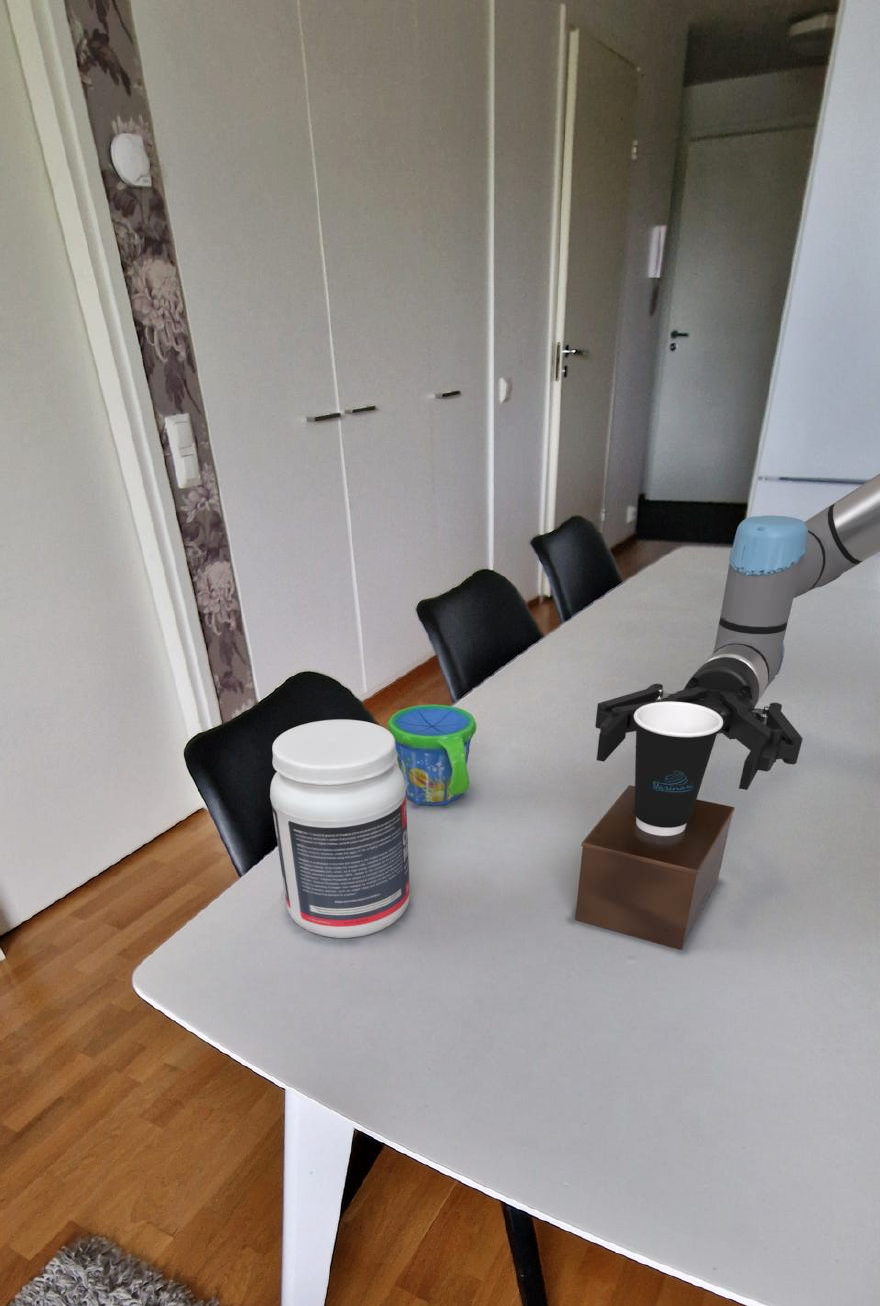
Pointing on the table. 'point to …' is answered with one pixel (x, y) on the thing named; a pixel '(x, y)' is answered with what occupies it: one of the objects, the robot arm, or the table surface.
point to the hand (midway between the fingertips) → (671, 761)
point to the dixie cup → (671, 763)
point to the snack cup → (433, 751)
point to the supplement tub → (341, 827)
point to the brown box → (651, 872)
